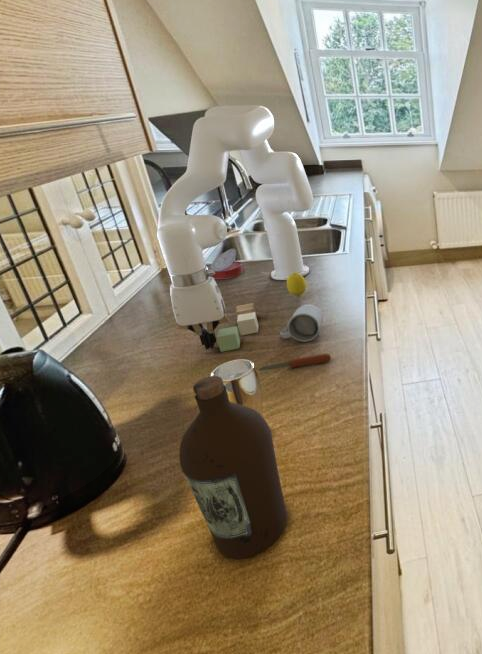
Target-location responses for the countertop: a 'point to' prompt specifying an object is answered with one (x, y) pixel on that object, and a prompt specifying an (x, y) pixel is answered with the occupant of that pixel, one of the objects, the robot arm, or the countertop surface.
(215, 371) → the beer glass
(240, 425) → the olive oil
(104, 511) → the countertop surface
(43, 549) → the countertop surface
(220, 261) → the canned food
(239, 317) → the cream block
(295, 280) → the lemon
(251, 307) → the birch block
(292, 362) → the kitchen knife
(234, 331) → the sage block
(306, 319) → the ceramic mug
